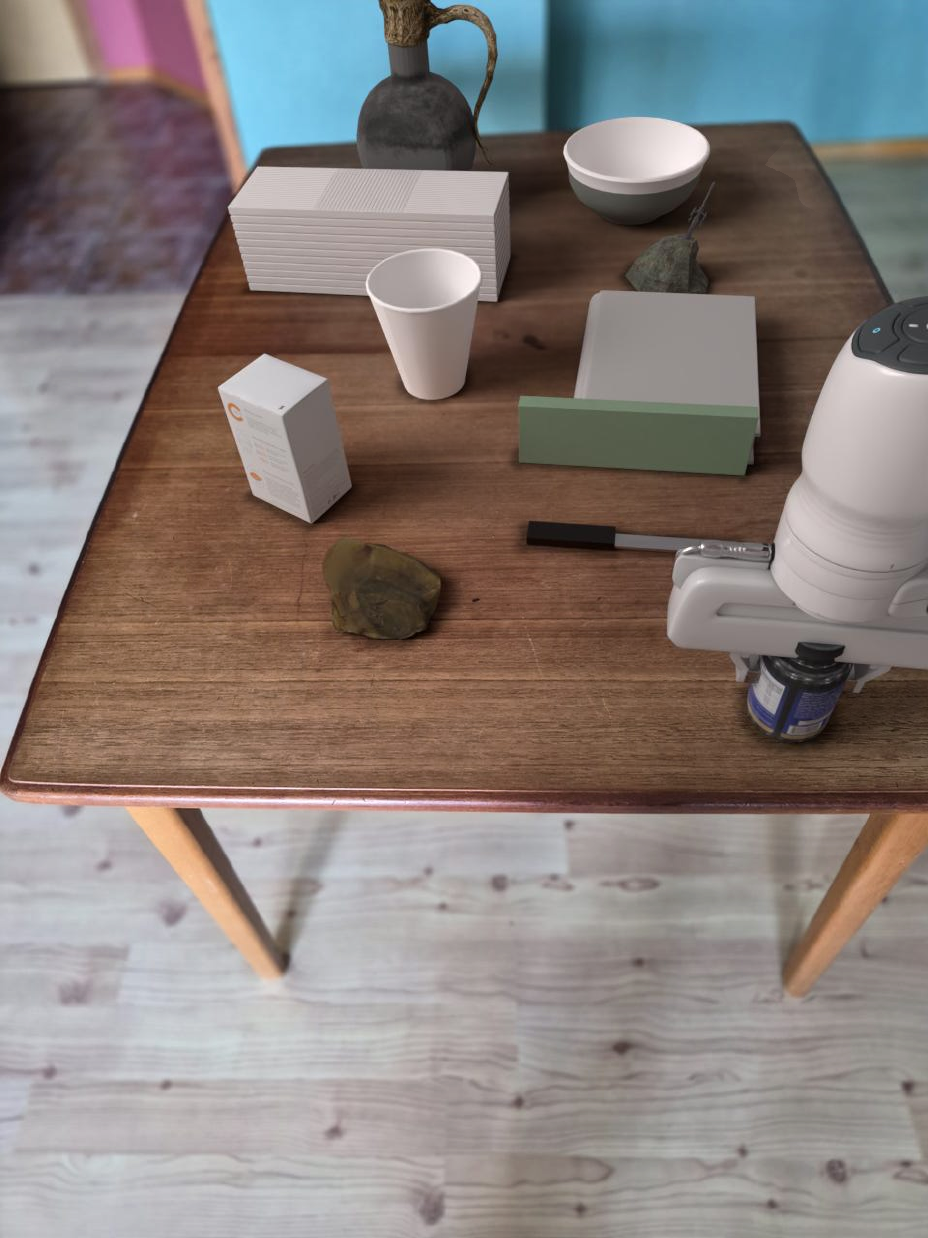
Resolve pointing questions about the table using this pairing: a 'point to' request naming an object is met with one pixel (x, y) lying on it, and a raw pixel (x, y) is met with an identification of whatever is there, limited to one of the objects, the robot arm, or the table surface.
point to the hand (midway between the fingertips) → (796, 680)
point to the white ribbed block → (366, 224)
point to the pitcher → (421, 96)
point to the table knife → (600, 538)
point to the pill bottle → (797, 691)
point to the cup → (427, 316)
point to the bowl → (635, 167)
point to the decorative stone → (379, 590)
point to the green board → (636, 434)
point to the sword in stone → (671, 263)
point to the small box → (287, 436)
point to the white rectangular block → (670, 349)
